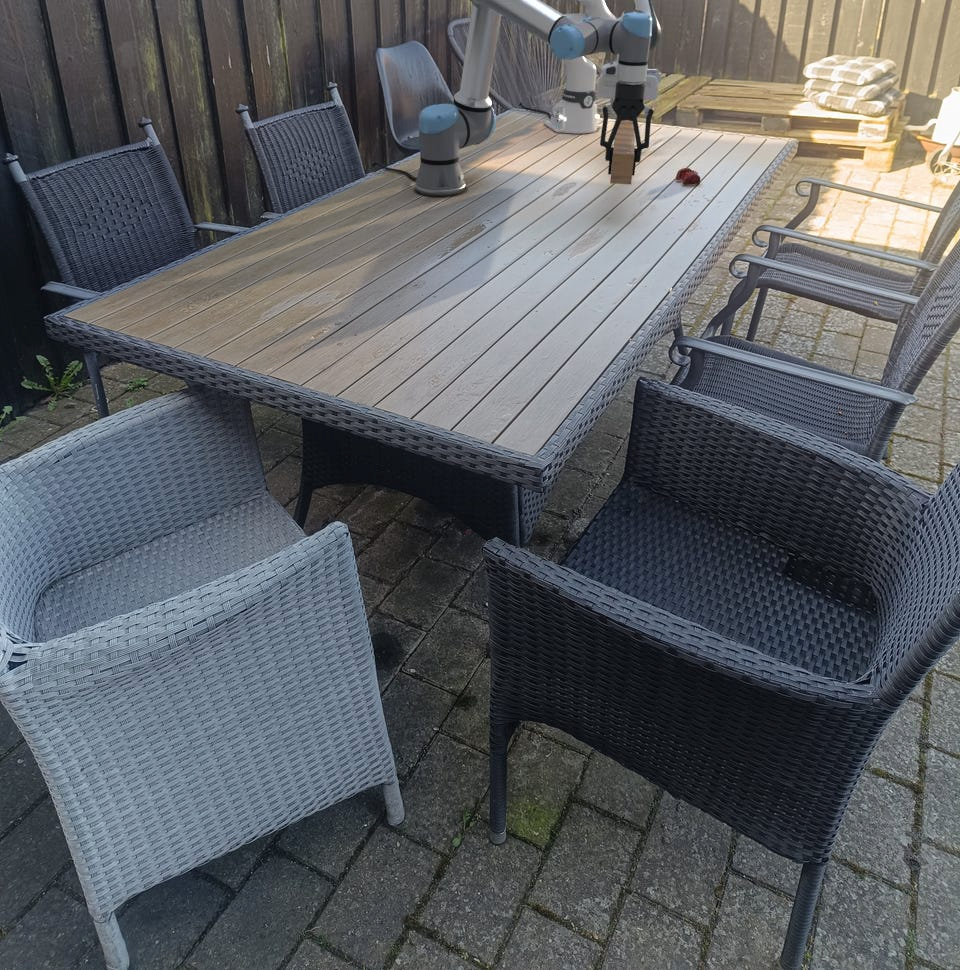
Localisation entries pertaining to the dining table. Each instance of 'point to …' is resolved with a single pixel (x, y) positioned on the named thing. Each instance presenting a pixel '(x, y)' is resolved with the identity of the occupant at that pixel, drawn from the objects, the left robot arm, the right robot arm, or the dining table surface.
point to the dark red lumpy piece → (688, 176)
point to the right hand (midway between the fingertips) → (624, 113)
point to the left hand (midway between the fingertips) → (621, 173)
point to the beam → (623, 154)
